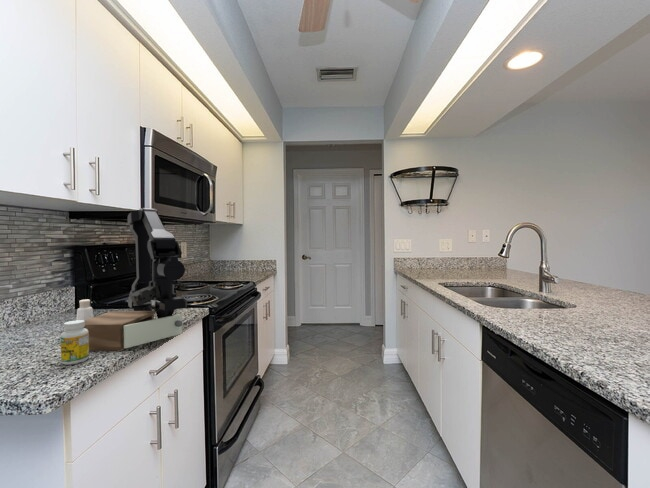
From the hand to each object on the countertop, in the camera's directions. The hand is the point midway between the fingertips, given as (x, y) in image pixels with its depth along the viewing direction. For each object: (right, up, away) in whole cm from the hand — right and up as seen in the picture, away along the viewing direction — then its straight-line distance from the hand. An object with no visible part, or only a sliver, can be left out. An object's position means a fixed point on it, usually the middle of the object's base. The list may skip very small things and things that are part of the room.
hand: (163, 328), depth 94 cm
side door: (+1, -2, -5) cm, 6 cm away
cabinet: (-12, -3, -3) cm, 13 cm away
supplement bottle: (-12, -3, -18) cm, 22 cm away
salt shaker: (-26, -3, +3) cm, 26 cm away
